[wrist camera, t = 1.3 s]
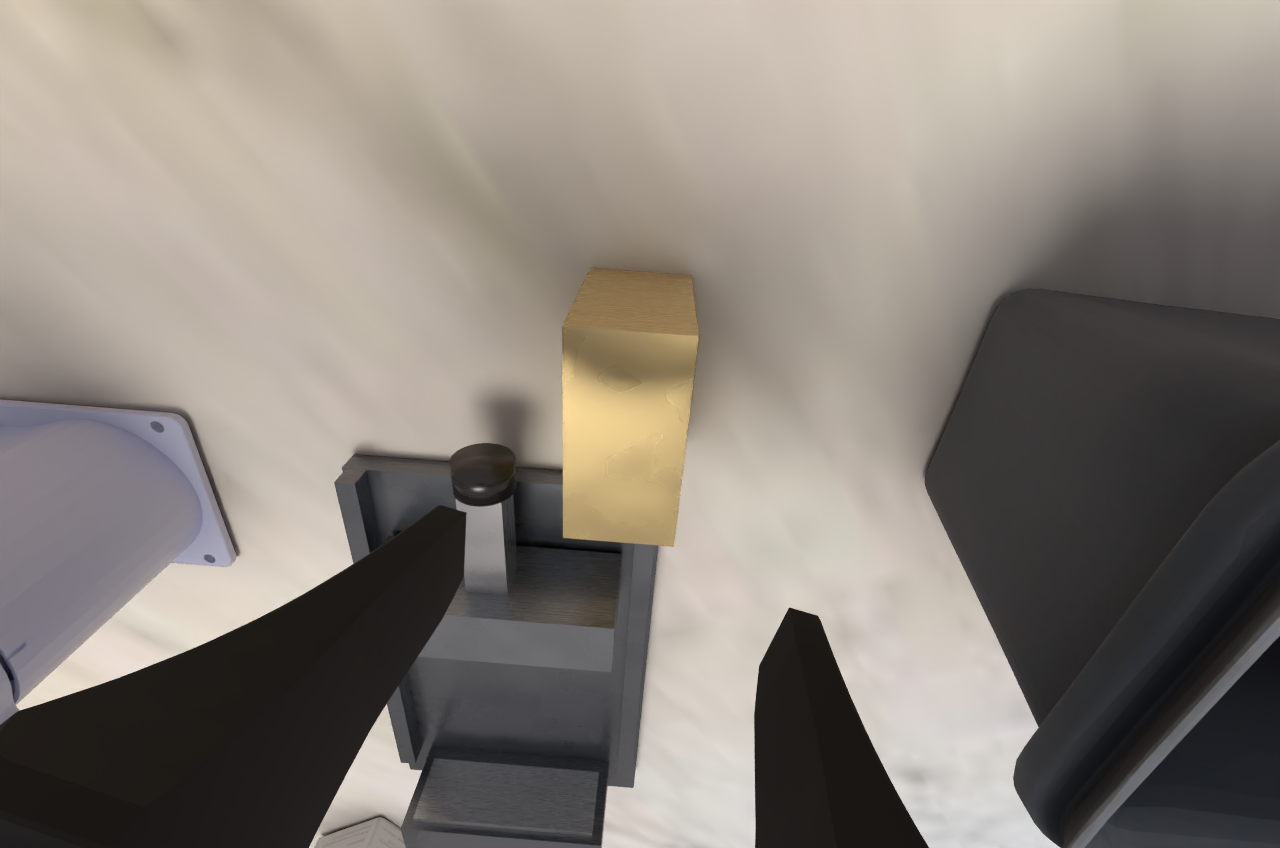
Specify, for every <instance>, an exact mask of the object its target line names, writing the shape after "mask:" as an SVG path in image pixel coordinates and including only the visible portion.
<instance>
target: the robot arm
mask: <svg viewBox="0 0 1280 848" xmlns="http://www.w3.org/2000/svg"><path fill="white" fill-rule="evenodd" d="M160 424H162V425H163V426H162V425H160ZM466 514H467V513H466V512H463V511H459V510H456V509H453V508H449V507H446V506H442V505H439V506H437V507H435V508H434V509H433V510H431V511H430V512H428V513H427V514H426V515H424V516H423V517H421V518H420V519H419V520H417V521H416V522H414V523H413V524H412V525H410V526H409V527H407V528H406V529H405V530H403V531H402V532H400V533H399V534H398V535H396V536H395V537H393V538H392V539H390V540H389V541H387V542H386V543H385V544H383V545H382V546H380V547H379V548H377V549H376V550H374V551H372V552H371V553H369V554H368V555H366V556H365V557H363V558H362V559H360V560H359V561H357V562H356V563H354V564H353V565H351V566H350V567H348V568H346V569H345V570H343V571H342V572H340V573H338V574H337V575H335V576H333V577H332V578H330V579H328V580H327V581H325V582H323V583H322V584H320V585H318V586H317V587H315V588H313V589H312V590H310V591H308V592H307V593H305V594H303V595H301V596H299V597H298V598H296V599H294V600H292V601H290V602H289V603H287V604H285V605H283V606H281V607H279V608H277V609H275V610H273V611H272V612H270V613H268V614H266V615H264V616H262V617H260V618H258V619H256V620H254V621H252V622H250V623H248V624H246V625H243V626H241V627H239V628H237V629H235V630H233V631H231V632H229V633H226V634H224V635H222V636H220V637H218V638H216V639H214V640H211V641H209V642H207V643H205V644H202V645H200V646H198V647H196V648H193V649H191V650H189V651H186V652H184V653H181V654H179V655H176V656H174V657H171V658H169V659H166V660H164V661H161V662H158V663H156V664H153V665H151V666H148V667H146V668H143V669H141V670H138V671H136V672H133V673H131V674H128V675H125V676H123V677H120V678H117V679H114V680H112V681H109V682H106V683H103V684H100V685H97V686H94V687H91V688H88V689H85V690H82V691H79V692H76V693H73V694H70V695H67V696H64V697H61V698H58V699H55V700H52V701H49V702H46V703H43V704H40V705H37V706H33V707H30V708H27V709H24V710H19V709H18V708H17V706H16V704H18V703H19V702H20V701H21V700H22V699H23V698H24V697H25V696H26V695H27V694H28V693H29V692H31V691H32V690H33V689H34V688H35V687H36V686H37V685H38V684H39V683H40V682H41V681H43V680H44V679H45V678H46V677H47V676H48V675H49V674H50V673H51V672H52V671H53V670H55V669H56V668H57V667H58V666H59V665H60V664H61V663H62V662H63V661H64V660H65V659H66V658H68V657H69V656H70V655H71V654H72V653H73V652H74V651H75V650H76V649H77V648H78V647H80V646H81V645H82V644H83V643H84V642H85V641H86V640H87V639H88V638H89V637H90V636H92V635H93V634H94V633H95V632H96V631H97V630H98V629H99V628H100V627H101V626H102V625H103V624H105V623H106V622H107V621H108V620H109V619H110V618H111V617H112V616H113V615H114V614H115V613H117V612H118V611H119V610H120V609H121V608H122V607H123V606H124V605H125V604H126V603H127V602H129V601H130V600H131V599H132V598H133V597H134V596H135V595H136V594H137V593H138V592H139V591H140V590H142V589H143V588H144V587H145V586H146V585H147V584H148V583H149V582H150V581H151V580H152V579H154V578H155V577H156V576H157V575H158V574H159V573H160V572H161V571H162V570H163V569H164V568H166V567H167V566H168V565H169V564H170V563H181V564H193V565H206V566H218V567H228V566H230V565H231V564H232V563H233V562H234V561H235V560H236V554H235V551H234V548H233V545H232V543H231V540H230V537H229V535H228V532H227V529H226V526H225V524H224V521H223V518H222V515H221V513H220V510H219V507H218V505H217V502H216V499H215V496H214V494H213V491H212V488H211V486H210V483H209V480H208V477H207V475H206V472H205V469H204V466H203V464H202V461H201V458H200V456H199V453H198V450H197V447H196V445H195V442H194V439H193V436H192V434H191V431H190V428H189V426H188V423H187V422H186V420H185V419H184V418H183V417H181V416H180V415H178V414H174V413H167V412H154V411H141V410H128V409H115V408H103V407H90V406H77V405H64V404H51V403H38V402H26V401H13V400H0V848H309V846H310V844H311V842H312V840H313V838H314V836H315V834H316V832H317V830H318V828H319V826H320V824H321V822H322V820H323V818H324V816H325V814H326V812H327V810H328V809H329V807H330V805H331V803H332V801H333V799H334V797H335V795H336V793H337V791H338V789H339V787H340V785H341V783H342V782H343V780H344V778H345V776H346V774H347V772H348V770H349V768H350V767H351V765H352V763H353V761H354V759H355V757H356V755H357V754H358V752H359V750H360V748H361V746H362V744H363V742H364V741H365V739H366V737H367V735H368V733H369V731H370V730H371V728H372V726H373V725H374V723H375V721H376V720H377V718H378V716H379V715H380V713H381V712H382V710H383V708H384V707H385V705H386V704H387V702H388V701H389V699H390V698H391V696H392V695H393V693H394V692H395V690H396V689H397V687H398V686H399V684H400V683H401V681H402V680H403V678H404V677H405V675H406V674H407V672H408V671H409V669H410V668H411V666H412V665H413V663H414V662H415V660H416V659H417V657H418V656H419V654H420V653H421V651H422V649H423V648H424V646H425V645H426V643H427V642H428V640H429V639H430V637H431V636H432V634H433V633H434V631H435V630H436V628H437V627H438V625H439V623H440V622H441V620H442V619H443V617H444V615H445V613H446V611H447V609H448V607H449V605H450V603H451V601H452V600H453V598H454V595H455V593H456V591H457V589H458V587H459V585H460V583H461V581H462V579H463V577H464V562H465V538H466ZM754 729H755V809H756V840H755V848H929V847H928V845H927V844H926V842H925V840H924V839H923V837H922V835H921V834H920V832H919V830H918V829H917V827H916V825H915V823H914V822H913V820H912V818H911V817H910V815H909V813H908V811H907V810H906V808H905V806H904V804H903V803H902V801H901V799H900V797H899V795H898V793H897V792H896V790H895V788H894V786H893V784H892V782H891V780H890V778H889V777H888V775H887V773H886V771H885V769H884V767H883V765H882V763H881V761H880V759H879V757H878V755H877V753H876V751H875V749H874V747H873V745H872V743H871V740H870V738H869V736H868V734H867V732H866V730H865V728H864V726H863V723H862V721H861V719H860V717H859V714H858V712H857V710H856V708H855V705H854V703H853V701H852V699H851V697H850V694H849V692H848V689H847V687H846V685H845V682H844V680H843V677H842V675H841V672H840V670H839V668H838V665H837V663H836V660H835V657H834V655H833V652H832V650H831V647H830V645H829V642H828V639H827V637H826V634H825V631H824V629H823V626H822V623H821V621H820V619H819V617H818V616H816V615H813V614H810V613H806V612H803V611H799V610H796V609H793V608H789V609H788V611H787V613H786V615H785V617H784V619H783V621H782V623H781V625H780V627H779V628H778V630H777V632H776V634H775V636H774V638H773V640H772V642H771V644H770V646H769V648H768V650H767V652H766V654H765V656H764V658H763V660H762V661H761V663H760V665H759V674H758V683H757V692H756V703H755V714H754Z"/></svg>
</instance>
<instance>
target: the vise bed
mask: <svg viewBox="0 0 1280 848" xmlns="http://www.w3.org/2000/svg"><path fill="white" fill-rule="evenodd" d="M342 470H343V473H342V474H341V475H340V476H339V478H338V479H337V480H336V481H335V482H334V483H335V487H336V492H337V496H338V500H339V504H340V508H341V513H342V517H343V521H344V525H345V529H346V534H347V538H348V542H349V546H350V550H351V555H352V559H353V563H356V562H357V561H359V560H360V559H362V558H363V557H365V556H366V555H368V554H369V553H371V552H372V551H374V550H376V549H377V548H379V547H380V546H382V545H383V543H384V542H385V540H386V539H387V537H388V536H396V535H398V534H399V533H400V532H402V531H403V530H405V529H406V528H407V527H409V526H410V525H412V524H413V523H414V522H416V521H417V520H419V519H420V518H421V517H423V516H424V515H426V514H427V513H428V512H430V511H431V510H433V509H434V508H435V507H437V506H439V505H442V506H446V507H449V508H453V509H456V510H457V508H456V500H455V499H456V498H455V497H454V495H453V489H452V481H451V472H450V462H443V461H430V460H417V459H404V458H392V457H379V456H366V455H353V456H352V457H351V458H350V459H349V460H348V462H347V463H346V464H345V465H344V466H343V467H342ZM515 472H516V490H515V492H514V493H513V497H514V516H515V534H516V546H526V547H539V548H552V549H564V550H577V551H589V552H602V553H614V554H622V562H621V578H620V594H619V604H618V614H617V623H616V633H615V643H614V652H613V662H612V672H601V671H588V670H576V669H564V668H552V667H539V666H527V665H515V664H503V663H490V662H478V661H466V660H454V659H441V658H429V657H417V659H416V660H415V662H414V663H413V665H412V666H411V668H410V669H409V671H408V672H407V674H406V675H405V677H404V678H403V680H402V681H401V683H400V684H399V686H398V687H397V689H396V690H395V692H394V693H393V695H392V696H391V698H390V699H389V701H388V702H387V706H388V710H389V714H390V718H391V723H392V727H393V731H394V735H395V739H396V744H397V748H398V752H399V756H400V760H401V763H409V765H410V769H415V770H422V773H421V776H420V778H419V781H418V784H417V786H416V789H415V792H414V794H413V797H412V800H411V803H410V805H409V808H408V811H407V813H406V816H405V819H404V821H403V824H402V827H401V832H402V836H403V840H404V843H405V847H406V848H602V841H603V830H604V819H605V808H606V797H607V786H618V787H630V788H633V787H634V777H635V767H636V757H637V747H638V738H639V728H640V718H641V708H642V698H643V689H644V679H645V669H646V659H647V649H648V639H649V630H650V620H651V610H652V600H653V590H654V581H655V571H656V561H657V551H658V545H647V544H634V543H622V542H609V541H596V540H584V539H571V538H563V471H557V470H545V469H532V468H519V467H515Z"/></svg>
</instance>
